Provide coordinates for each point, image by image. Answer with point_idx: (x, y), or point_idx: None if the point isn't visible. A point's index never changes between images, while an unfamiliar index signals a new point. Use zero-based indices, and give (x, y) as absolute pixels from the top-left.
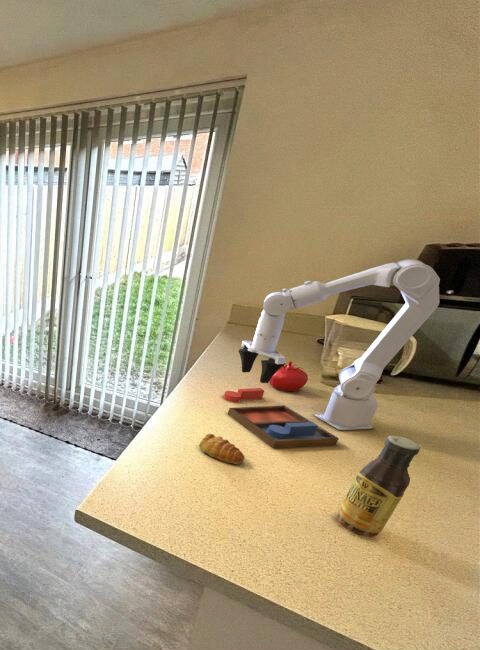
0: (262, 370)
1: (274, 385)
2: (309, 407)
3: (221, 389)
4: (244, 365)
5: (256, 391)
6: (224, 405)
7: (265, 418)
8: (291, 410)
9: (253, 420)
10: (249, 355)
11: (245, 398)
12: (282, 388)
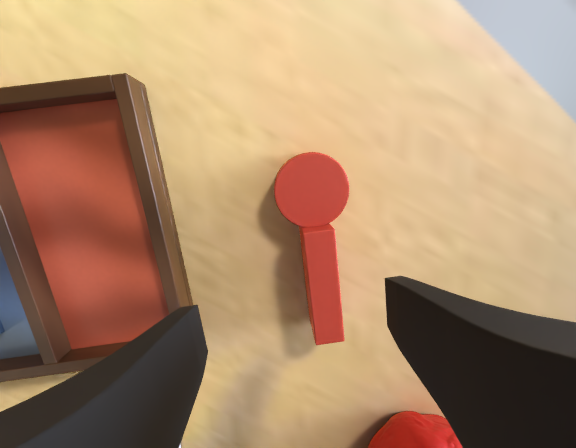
0: (120, 367)
1: (402, 418)
2: (244, 440)
3: (410, 194)
4: (418, 304)
5: (311, 306)
6: (238, 118)
7: (92, 225)
8: None
9: (60, 159)
10: (520, 434)
11: (301, 248)
12: (378, 433)
